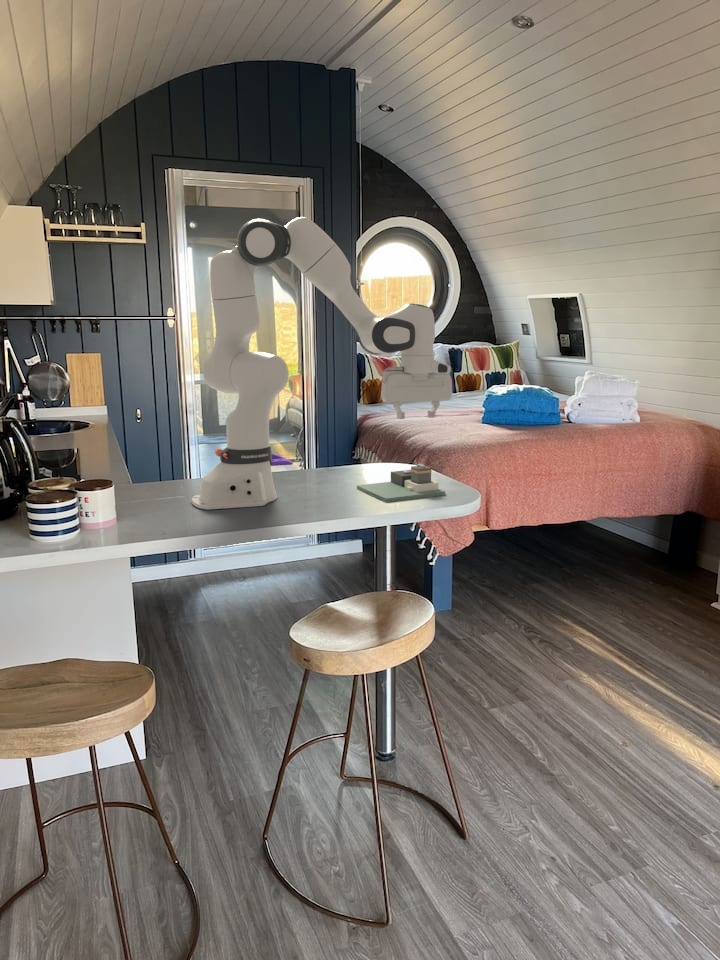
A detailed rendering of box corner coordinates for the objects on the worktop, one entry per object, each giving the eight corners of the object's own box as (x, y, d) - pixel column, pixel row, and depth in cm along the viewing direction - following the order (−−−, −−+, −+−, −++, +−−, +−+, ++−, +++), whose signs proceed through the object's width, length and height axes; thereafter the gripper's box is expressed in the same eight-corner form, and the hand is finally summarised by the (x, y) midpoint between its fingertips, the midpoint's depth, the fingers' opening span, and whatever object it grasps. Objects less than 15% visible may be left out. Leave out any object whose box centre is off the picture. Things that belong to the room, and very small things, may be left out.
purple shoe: (256, 469, 241) (255, 448, 240) (253, 466, 247) (252, 445, 246) (292, 467, 244) (292, 446, 243) (289, 464, 250) (288, 443, 249)
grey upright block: (418, 490, 202) (418, 466, 201) (410, 487, 206) (410, 464, 204) (431, 489, 204) (431, 465, 202) (423, 486, 207) (424, 463, 206)
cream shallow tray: (414, 492, 200) (414, 485, 200) (401, 487, 206) (402, 480, 206) (438, 489, 203) (438, 482, 203) (425, 485, 209) (425, 478, 209)
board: (385, 502, 194) (385, 498, 194) (356, 488, 210) (356, 485, 210) (445, 495, 201) (445, 491, 201) (412, 482, 217) (412, 479, 217)
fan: (402, 486, 207) (402, 474, 207) (390, 482, 213) (390, 470, 213) (424, 484, 210) (424, 472, 209) (412, 479, 216) (412, 468, 216)
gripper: (387, 367, 192) (387, 420, 194) (456, 366, 200) (454, 418, 203) (377, 366, 197) (376, 418, 200) (443, 365, 206) (442, 415, 208)
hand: (416, 418), depth 201 cm, fingers open, 8 cm apart
